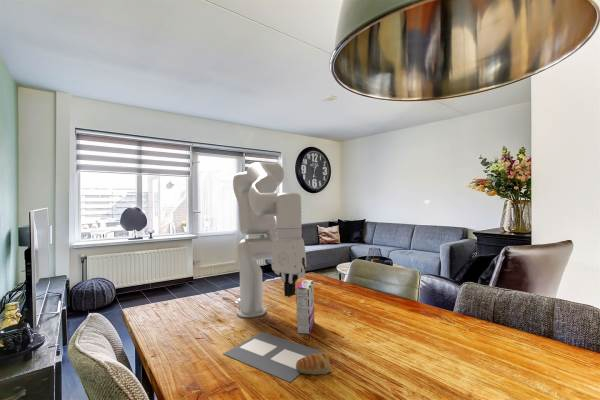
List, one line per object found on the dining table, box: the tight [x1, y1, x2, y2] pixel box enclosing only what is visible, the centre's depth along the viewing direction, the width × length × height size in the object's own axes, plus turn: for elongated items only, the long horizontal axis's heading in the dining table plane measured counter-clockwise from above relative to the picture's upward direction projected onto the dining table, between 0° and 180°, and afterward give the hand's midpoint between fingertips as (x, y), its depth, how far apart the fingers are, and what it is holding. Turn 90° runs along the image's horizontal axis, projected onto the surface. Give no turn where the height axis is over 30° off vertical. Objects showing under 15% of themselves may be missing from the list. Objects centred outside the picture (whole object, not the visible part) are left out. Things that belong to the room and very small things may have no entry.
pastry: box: [296, 351, 331, 376], centre depth 81 cm, size 9×7×4 cm
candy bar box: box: [295, 279, 315, 335], centre depth 108 cm, size 11×5×16 cm, turn 168°
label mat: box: [222, 331, 326, 384], centre depth 90 cm, size 26×18×1 cm
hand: (289, 295), depth 87 cm, fingers closed
